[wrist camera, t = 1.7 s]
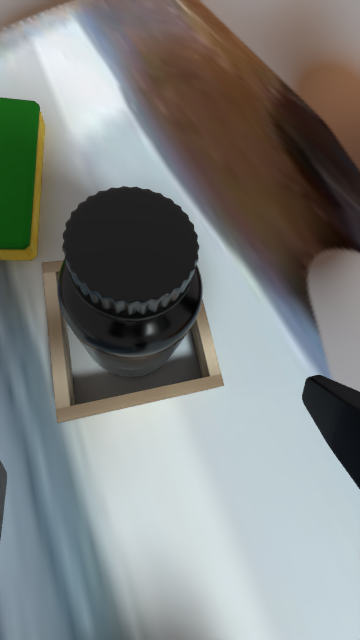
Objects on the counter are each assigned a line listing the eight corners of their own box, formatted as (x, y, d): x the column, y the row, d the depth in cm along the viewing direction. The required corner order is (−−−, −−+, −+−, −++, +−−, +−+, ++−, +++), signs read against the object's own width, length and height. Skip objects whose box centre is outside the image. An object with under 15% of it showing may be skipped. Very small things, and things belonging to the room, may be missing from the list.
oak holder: (215, 387, 21) (224, 385, 19) (64, 421, 18) (57, 423, 17) (184, 260, 24) (189, 247, 22) (49, 275, 21) (41, 262, 19)
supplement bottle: (191, 314, 22) (255, 216, 11) (152, 394, 20) (182, 376, 9) (113, 274, 22) (97, 135, 11) (64, 350, 20) (-20, 274, 9)
